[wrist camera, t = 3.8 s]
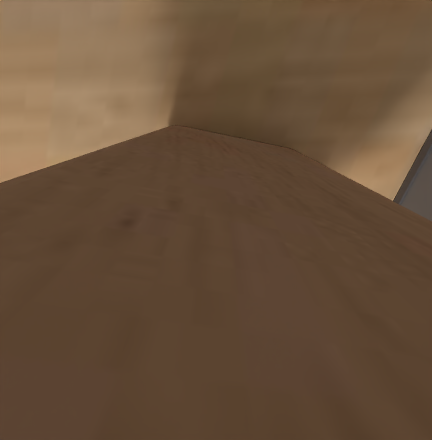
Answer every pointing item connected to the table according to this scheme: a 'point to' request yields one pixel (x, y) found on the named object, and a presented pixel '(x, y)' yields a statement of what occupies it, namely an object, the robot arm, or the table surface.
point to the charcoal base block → (419, 184)
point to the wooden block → (211, 298)
